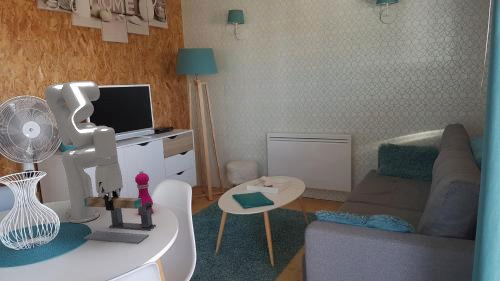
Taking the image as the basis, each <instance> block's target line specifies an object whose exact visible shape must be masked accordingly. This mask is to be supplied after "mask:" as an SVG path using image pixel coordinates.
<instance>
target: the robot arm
mask: <svg viewBox="0 0 500 281" xmlns="http://www.w3.org/2000/svg"><path fill="white" fill-rule="evenodd" d="M100 95H101V94H100V88H99V86H98V84H97V83H96V82H95V81H93V80H80V81H79V80H78V81H68V82H65V83H55V84H54V83H53V84H50V85H48V86H47V87H46V88H45V90H44V97H45V101H46V104H47V106H48V108H49V109H50V111H51V113H52V115H53V116H54V119H55V122H56V127H57V131H58V134H59V138H60V141H61V143H62V145H63V146H65V147H73V148H69V149H67V150H65V151H64V152H63V153H62V155H61V162H62V166H63V169H64V172H65V176H66V181H67V187H68V188H67V189H68V195H69V202H70V207H68V208H67V210H66V211H65V214H69V217H68V222H70V223H74V224H79V223H80V224H81V223H87V222H90V221H94V220H96V219H98V218H99V217H100V212H99V211H97V210H96V207H85V203H84V199H85V198H87V197H94V192H93V184H92V178H91V176H90V174H88V173H87V172H86V171H85V170H86V169H89V168H94V167H95V170H94V171H95V174H94V176H95V177H94V178H95V192H96V193H97V197H101V198H103V200H104V201H105V207H104V208H105V211H109V212H111V211H113V210H114V206H113V200H111V197H117V198H120V196H121V191H122V189H123V188H124V185H123V175H122V170H121V165H120V163H119V158H118V156H119V155H118V147H117V141H116V140H117V139H116V133H115V129H114V128H113V127H108V126H106V125H98V126H97V125H96V123H93V122H89V121H87V122H83V121H84V120H86V119H88V118H90V117H91V116H92V115H93V113H94V110H95V109H94V105H93V103H92V102H94V101H95V102H96V101H97V100H99V99H100V97H101V96H100Z"/></svg>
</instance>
